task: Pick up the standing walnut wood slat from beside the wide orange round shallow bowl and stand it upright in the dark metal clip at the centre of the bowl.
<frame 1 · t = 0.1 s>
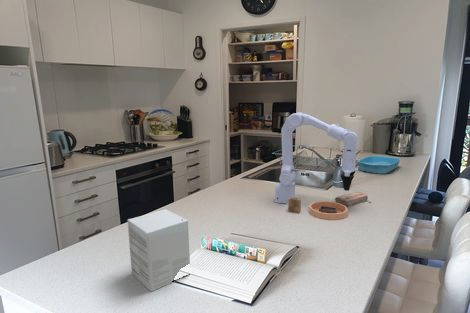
hand: (347, 187, 147), 10 cm above the worktop, tool pointing down, fingers open, 7 cm apart
orange round shallow bowl: (327, 214, 142), on the worktop
supplement box: (160, 274, 97), on the worktop
wick clip: (328, 212, 141), resting on orange round shallow bowl
packaged product: (350, 204, 156), on the worktop
casserole dish: (378, 169, 223), on the worktop
wood wick: (294, 213, 144), on the worktop
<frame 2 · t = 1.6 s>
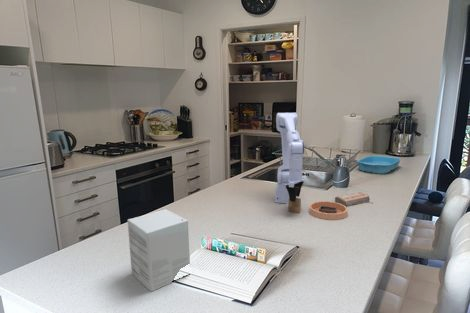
hand: (294, 198, 142), 7 cm above the worktop, tool pointing down, fingers open, 7 cm apart
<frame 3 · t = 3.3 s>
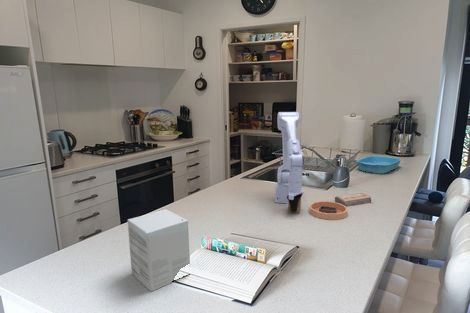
hand: (294, 210, 143), 2 cm above the worktop, tool pointing down, fingers closed on wood wick, 2 cm apart
wood wick: (294, 213, 144), on the worktop, touching gripper
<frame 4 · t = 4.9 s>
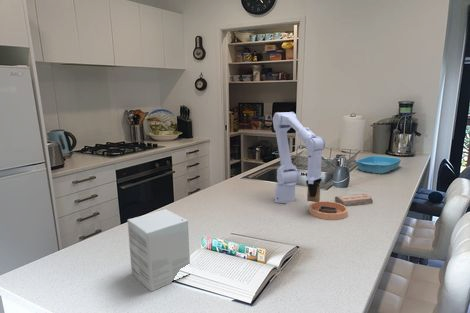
hand: (313, 195, 141), 9 cm above the worktop, tool pointing down, fingers closed on wood wick, 2 cm apart
wood wick: (313, 200, 141), point 6 cm above the worktop, touching gripper
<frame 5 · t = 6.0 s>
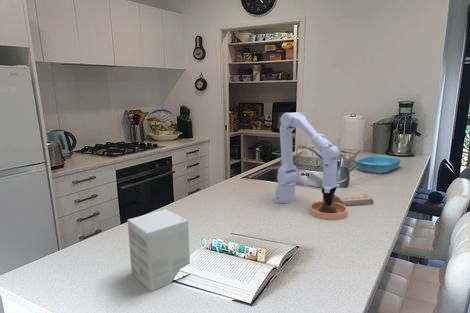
hand: (328, 204, 141), 5 cm above the worktop, tool pointing down, fingers closed on wood wick, 2 cm apart
wood wick: (328, 210, 141), point 2 cm above the worktop, touching gripper
when the fingers open (4 cm above the worktop, at t = 6.5 s): wood wick stays where it is, resting on orange round shallow bowl.
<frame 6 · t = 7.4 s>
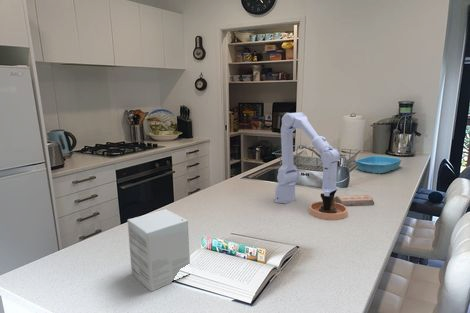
hand: (328, 207, 141), 4 cm above the worktop, tool pointing down, fingers open, 7 cm apart
wood wick: (328, 212, 141), point 1 cm above the worktop, touching orange round shallow bowl
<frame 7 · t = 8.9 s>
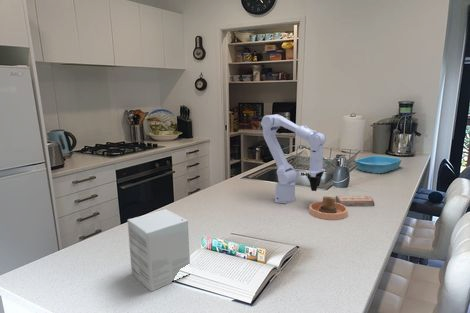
hand: (315, 188, 149), 9 cm above the worktop, tool pointing down, fingers open, 7 cm apart
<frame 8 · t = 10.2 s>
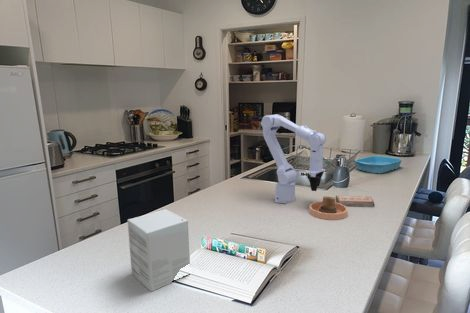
hand: (315, 188, 149), 9 cm above the worktop, tool pointing down, fingers open, 7 cm apart
at the end: wood wick 0.2 cm off-centre on the wick clip, point 0.0 cm above the wick clip's base; wood wick tilted 0°; the gripper is holding nothing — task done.
